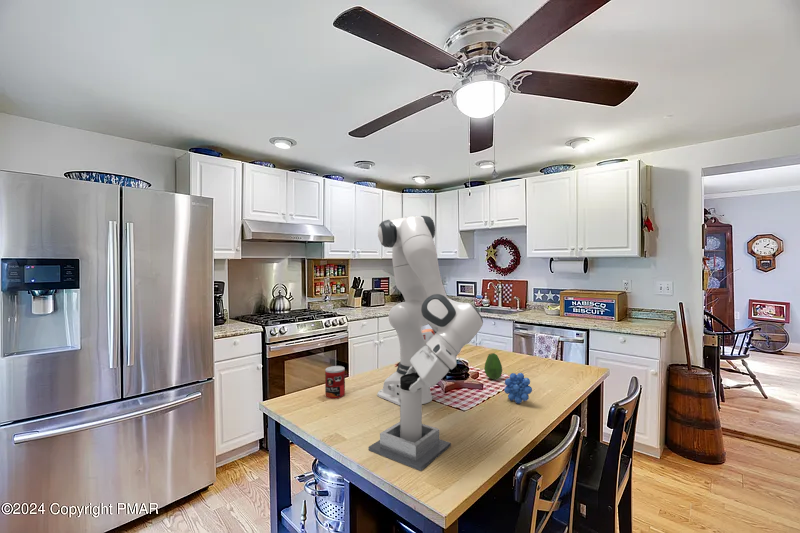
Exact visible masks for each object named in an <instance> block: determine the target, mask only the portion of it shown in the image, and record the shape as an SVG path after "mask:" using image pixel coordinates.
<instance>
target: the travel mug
mask: <svg viewBox="0 0 800 533" xmlns="http://www.w3.org/2000/svg"><path fill="white" fill-rule="evenodd" d="M419 377H420V376H419V375H418V373H411V374H406V375H403V376H401V378H400V384H401V385H400V405H399V418H400V419H399V422H400V438H402V439H405V440H408V441H411V442H413V443H415V442H417V441H418V440H419V439H421V438H422V424H423V422H422V421H423V420H422V419H423V418H422V417H423V416H422V415H423V412H422V410H423V406H422V405H423V404H422V390H421V389H422V387H421V388H419V389H418V390H417V391H416V392H415V393H412V392H411V391H410V390H409V386H410V385H411V384H412V383H413V384H414V383H415V382H416V381H417V379H418V378H419Z"/></svg>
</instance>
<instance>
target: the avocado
mask: <svg viewBox="0 0 800 533" xmlns="http://www.w3.org/2000/svg"><path fill="white" fill-rule="evenodd" d="M502 373H503V366H502V362H501V361H500V358H499V356H498V354H497V353H489V354H488V355H487V358H486V360H485V363H484V374H485V375H486V376H487V377H488V379H491V380H495V381H496V380H499V379H500V378H501V377H502V375H503V374H502Z"/></svg>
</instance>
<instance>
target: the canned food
mask: <svg viewBox="0 0 800 533" xmlns="http://www.w3.org/2000/svg"><path fill="white" fill-rule="evenodd" d="M324 372H325V374H324V376H325V377H324V381H325V382H324V384H325V387H324V388H325V397H326V398H327V399H332V400H334V399H335V400H336V399H340V398H342V397H344V396H345V394H346V369H345V367H344V366H342V365H331V366H328V367H326V368H325V370H324Z"/></svg>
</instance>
